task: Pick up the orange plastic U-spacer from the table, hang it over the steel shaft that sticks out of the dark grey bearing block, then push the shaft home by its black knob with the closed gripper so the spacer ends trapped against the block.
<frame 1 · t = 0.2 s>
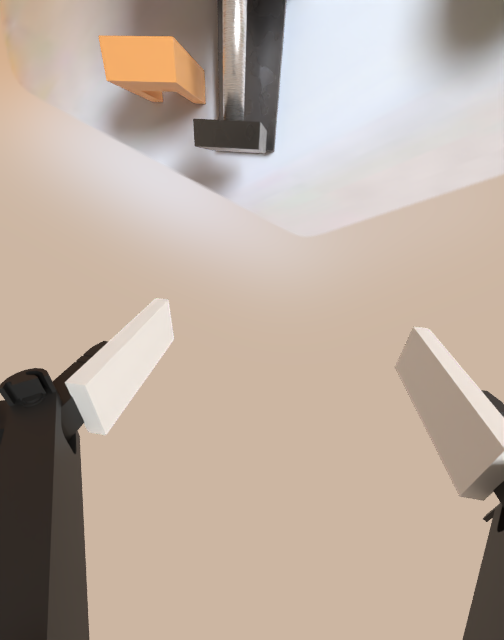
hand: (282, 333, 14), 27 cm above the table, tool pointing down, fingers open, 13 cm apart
shaft: (234, 45, 22), point 9 cm above the table, slide at 9.0 cm
spacer: (177, 86, 31), on the table
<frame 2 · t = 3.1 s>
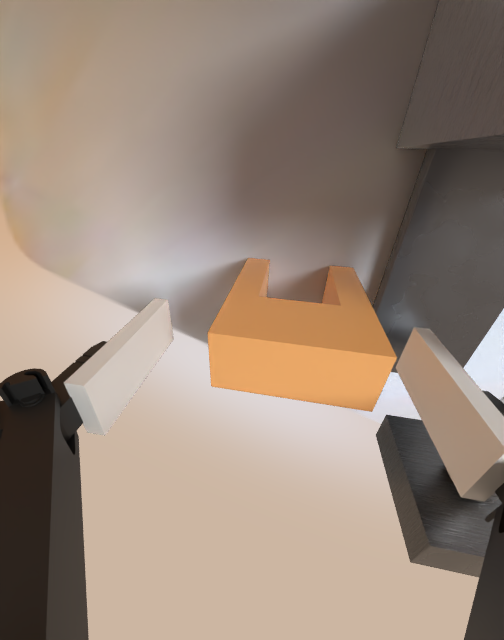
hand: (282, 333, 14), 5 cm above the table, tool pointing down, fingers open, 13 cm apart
spacer: (296, 283, 18), on the table
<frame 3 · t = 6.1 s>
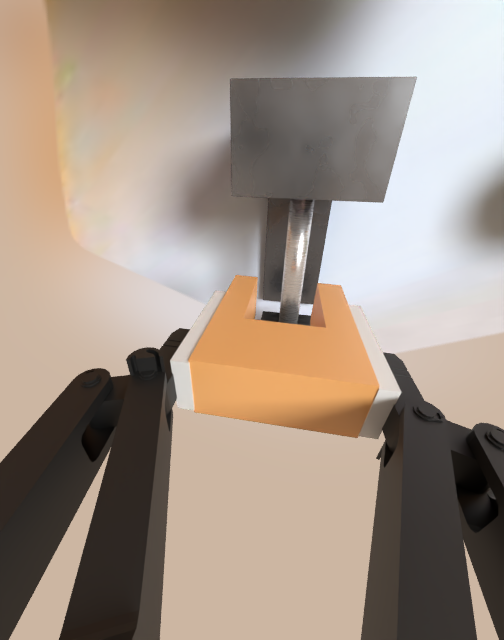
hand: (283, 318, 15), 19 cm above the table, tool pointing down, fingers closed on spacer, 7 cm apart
shaft: (293, 279, 25), point 9 cm above the table, slide at 9.5 cm
spacer: (284, 300, 18), point 16 cm above the table, touching gripper
bearing block: (304, 155, 27), on the table
when the fingers open (7 cm above the table, at t = 8.8 s): spacer stays where it is, resting on shaft.
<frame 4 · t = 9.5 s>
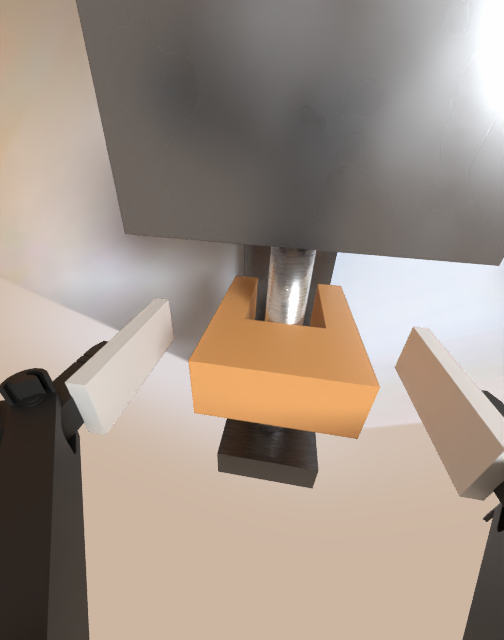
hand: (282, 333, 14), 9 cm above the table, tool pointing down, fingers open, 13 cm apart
shaft: (279, 357, 15), point 9 cm above the table, slide at 9.5 cm, touching spacer
spacer: (284, 300, 18), point 4 cm above the table, touching shaft
bearing block: (302, 148, 17), on the table
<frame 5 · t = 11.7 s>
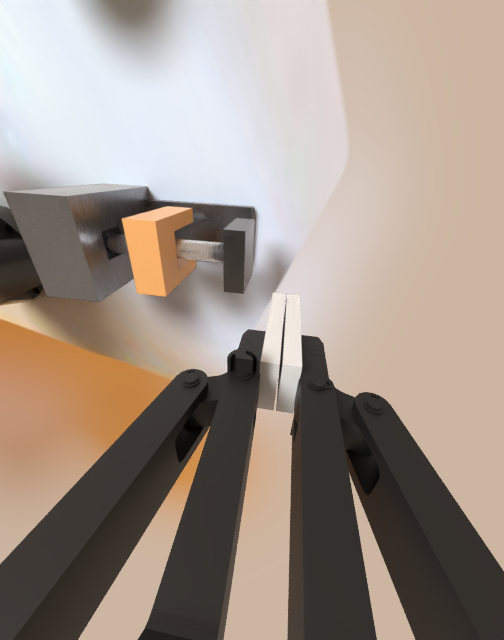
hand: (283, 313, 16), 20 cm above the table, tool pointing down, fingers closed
shaft: (179, 248, 27), point 9 cm above the table, slide at 9.5 cm, touching spacer
spacer: (182, 238, 31), point 4 cm above the table, touching shaft
bearing block: (133, 225, 35), on the table
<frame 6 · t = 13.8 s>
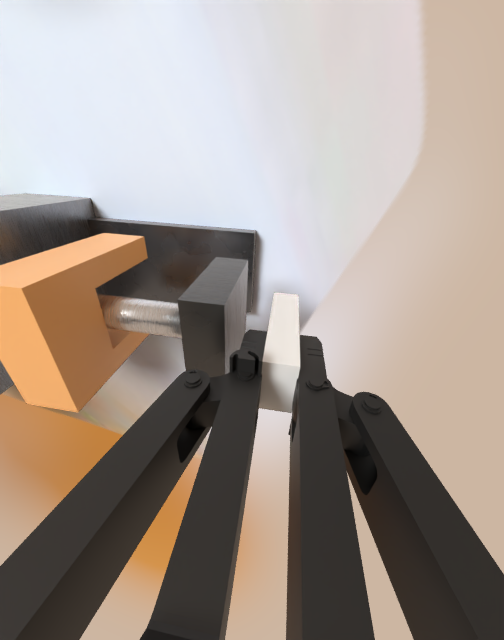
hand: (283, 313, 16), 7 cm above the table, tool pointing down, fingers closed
shaft: (115, 312, 15), point 9 cm above the table, slide at 8.9 cm, touching gripper, spacer
spacer: (133, 282, 19), point 4 cm above the table, touching shaft
bearing block: (76, 254, 24), on the table
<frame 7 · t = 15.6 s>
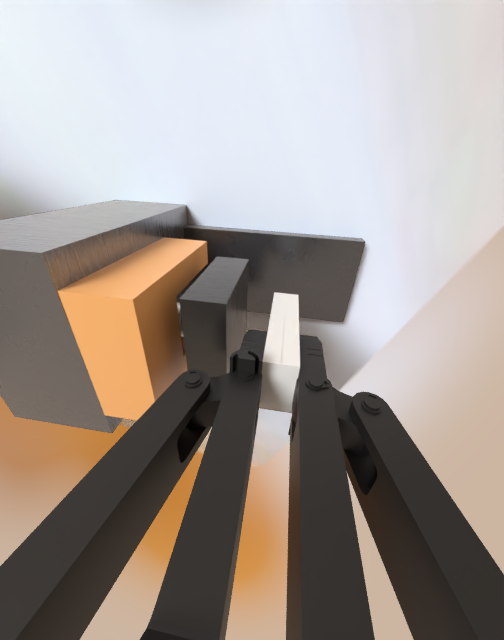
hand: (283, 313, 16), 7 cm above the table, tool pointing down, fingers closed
shaft: (116, 311, 15), point 9 cm above the table, slide at 0.6 cm, touching gripper, spacer
spacer: (189, 287, 19), point 4 cm above the table, touching bearing block, shaft
bearing block: (159, 262, 23), on the table
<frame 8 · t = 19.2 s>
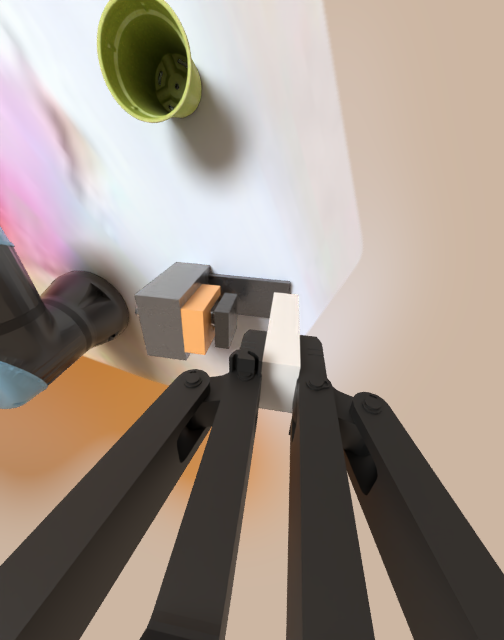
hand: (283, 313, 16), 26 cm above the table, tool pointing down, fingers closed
shaft: (185, 315, 38), point 9 cm above the table, slide at 0.6 cm, touching spacer
spacer: (211, 304, 42), point 4 cm above the table, touching bearing block, shaft
bearing block: (194, 289, 46), on the table
plant pot: (179, 86, 32), on the table
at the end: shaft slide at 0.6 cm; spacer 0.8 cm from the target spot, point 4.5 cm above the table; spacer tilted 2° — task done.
